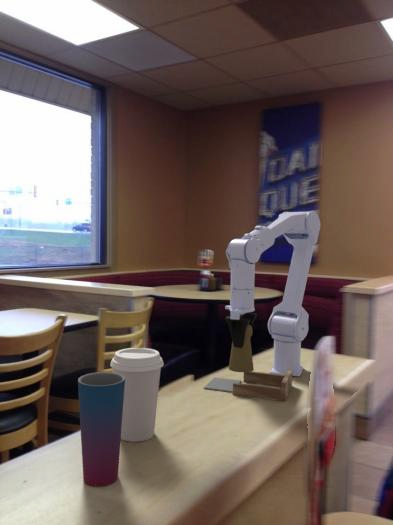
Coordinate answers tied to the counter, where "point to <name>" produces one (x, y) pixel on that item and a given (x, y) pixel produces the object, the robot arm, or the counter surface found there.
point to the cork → (242, 355)
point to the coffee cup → (138, 391)
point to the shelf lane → (264, 391)
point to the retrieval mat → (221, 384)
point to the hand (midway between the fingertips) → (240, 344)
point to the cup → (101, 426)
